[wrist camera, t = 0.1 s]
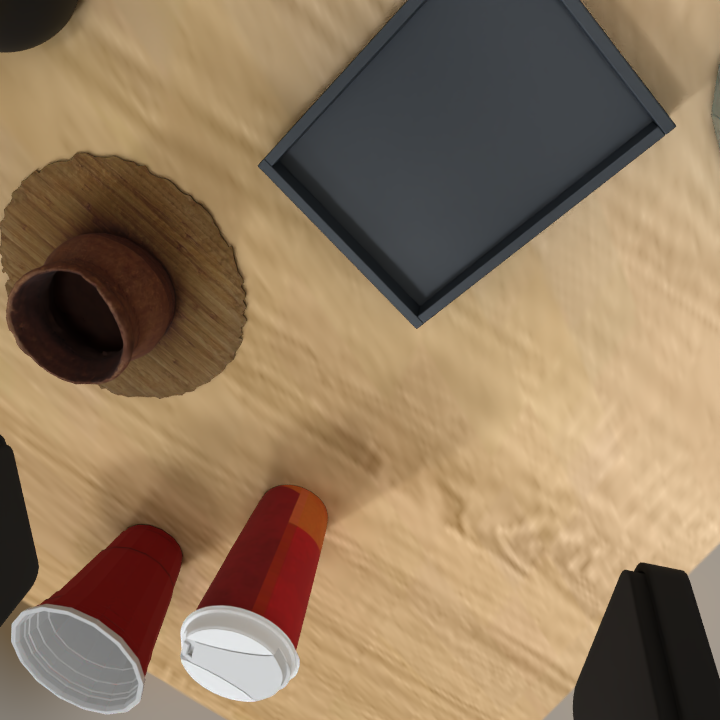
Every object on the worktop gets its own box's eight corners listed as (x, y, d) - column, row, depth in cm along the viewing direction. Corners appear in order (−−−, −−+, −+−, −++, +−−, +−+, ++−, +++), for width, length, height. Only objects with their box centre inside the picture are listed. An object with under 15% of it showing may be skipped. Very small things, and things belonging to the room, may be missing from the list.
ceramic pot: (180, 117, 39) (120, 142, 33) (285, 374, 46) (252, 432, 40) (-48, 196, 45) (-135, 229, 39) (79, 414, 52) (22, 470, 46)
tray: (501, -98, 31) (500, -103, 29) (667, 118, 34) (677, 126, 32) (269, 156, 39) (257, 165, 37) (420, 313, 42) (416, 329, 40)
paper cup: (239, 527, 55) (163, 679, 43) (259, 460, 51) (182, 606, 39) (328, 561, 55) (277, 722, 43) (355, 495, 51) (307, 654, 39)
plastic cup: (110, 478, 55) (18, 592, 45) (226, 539, 56) (162, 665, 45) (79, 554, 60) (-10, 670, 50) (185, 609, 61) (119, 734, 51)
